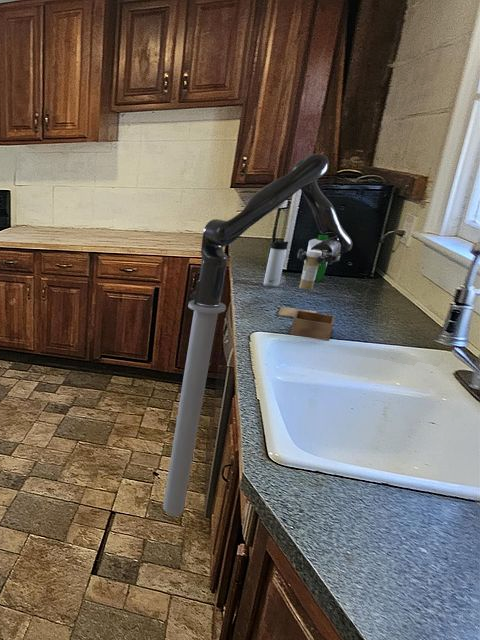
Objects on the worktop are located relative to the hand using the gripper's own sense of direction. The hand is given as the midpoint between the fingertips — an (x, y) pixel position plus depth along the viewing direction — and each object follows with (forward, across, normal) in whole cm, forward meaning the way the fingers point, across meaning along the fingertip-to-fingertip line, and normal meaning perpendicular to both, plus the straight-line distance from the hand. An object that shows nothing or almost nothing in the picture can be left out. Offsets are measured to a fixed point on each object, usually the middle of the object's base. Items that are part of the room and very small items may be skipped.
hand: (311, 258), depth 182 cm
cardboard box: (+14, +8, +22) cm, 27 cm away
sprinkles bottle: (-3, 0, +11) cm, 12 cm away
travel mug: (-43, -22, +22) cm, 53 cm away
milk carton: (-70, -13, +22) cm, 74 cm away
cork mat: (-6, -2, +22) cm, 23 cm away
